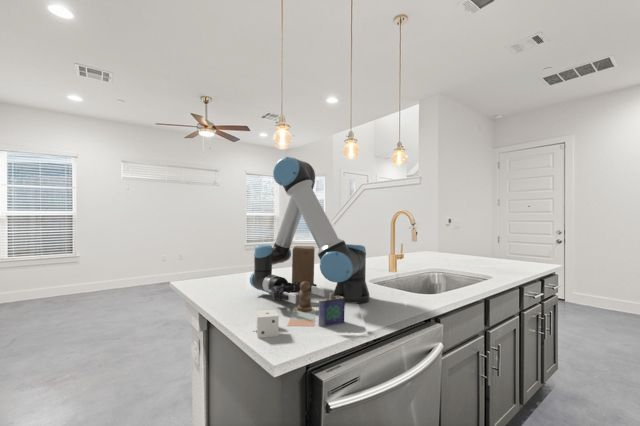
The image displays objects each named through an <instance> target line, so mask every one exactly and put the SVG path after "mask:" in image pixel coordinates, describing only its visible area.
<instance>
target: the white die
mask: <svg viewBox="0 0 640 426" xmlns="http://www.w3.org/2000/svg"><path fill="white" fill-rule="evenodd" d="M256 336H257V337H256V338H257V339H261V338H263V339H264V338H271V337H279V313H278V311H277V309H266V310H264V309H263V310H256Z"/></svg>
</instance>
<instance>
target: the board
mask: <svg viewBox="0 0 640 426" xmlns="http://www.w3.org/2000/svg"><path fill="white" fill-rule="evenodd" d="M316 313H317V307H314V306H312V310H311V311H309V312H301V311H298V306H294V307H293V309H292V312H291V315H290V317H289V320H288V323H287V327H315V323H316V320H315V319H316Z"/></svg>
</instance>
